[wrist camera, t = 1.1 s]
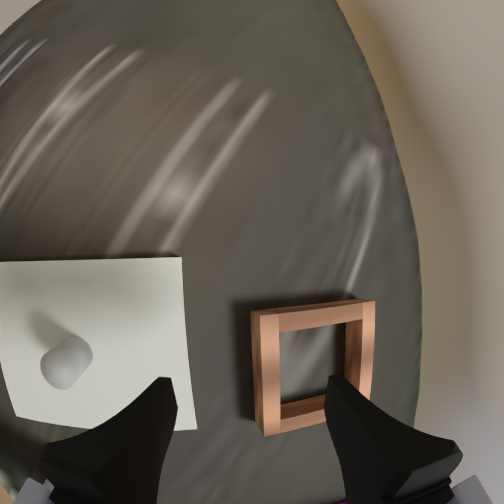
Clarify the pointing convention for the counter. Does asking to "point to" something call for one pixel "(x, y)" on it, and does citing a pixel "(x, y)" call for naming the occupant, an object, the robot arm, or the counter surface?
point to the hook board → (92, 337)
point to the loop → (268, 362)
